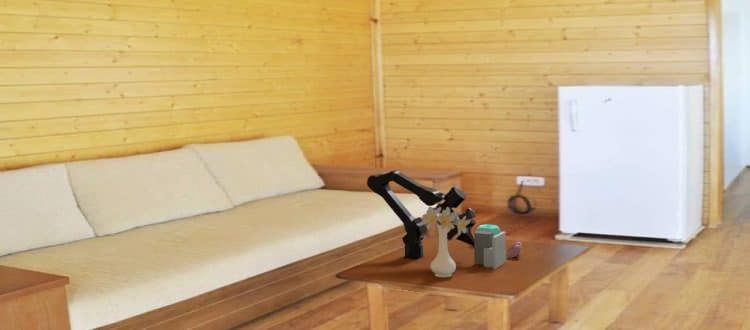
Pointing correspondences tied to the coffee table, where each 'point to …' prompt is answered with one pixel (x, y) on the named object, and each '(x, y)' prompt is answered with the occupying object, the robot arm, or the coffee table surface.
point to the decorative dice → (489, 229)
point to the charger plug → (481, 245)
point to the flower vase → (444, 238)
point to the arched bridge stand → (496, 251)
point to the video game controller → (514, 250)
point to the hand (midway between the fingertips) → (475, 246)
